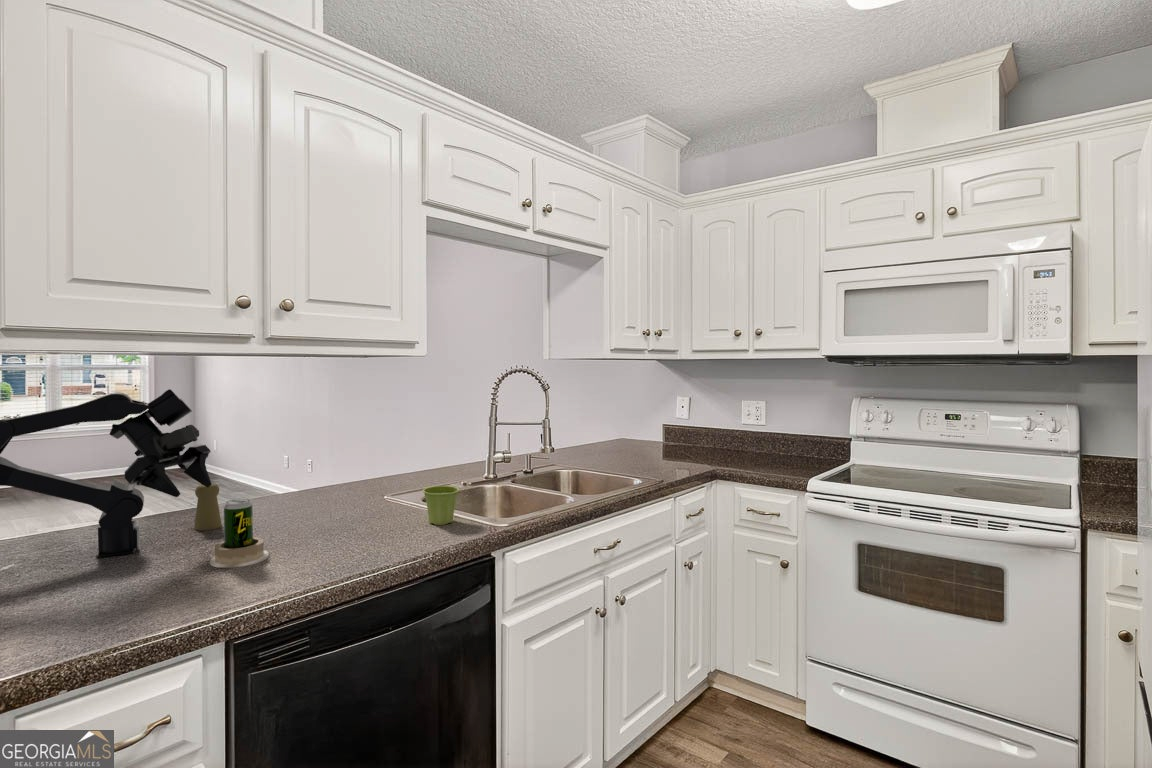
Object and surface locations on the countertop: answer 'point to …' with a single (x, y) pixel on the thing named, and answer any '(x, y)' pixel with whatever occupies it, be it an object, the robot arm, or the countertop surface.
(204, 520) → the cork
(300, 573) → the countertop surface
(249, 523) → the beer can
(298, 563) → the countertop surface
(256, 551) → the can holder
